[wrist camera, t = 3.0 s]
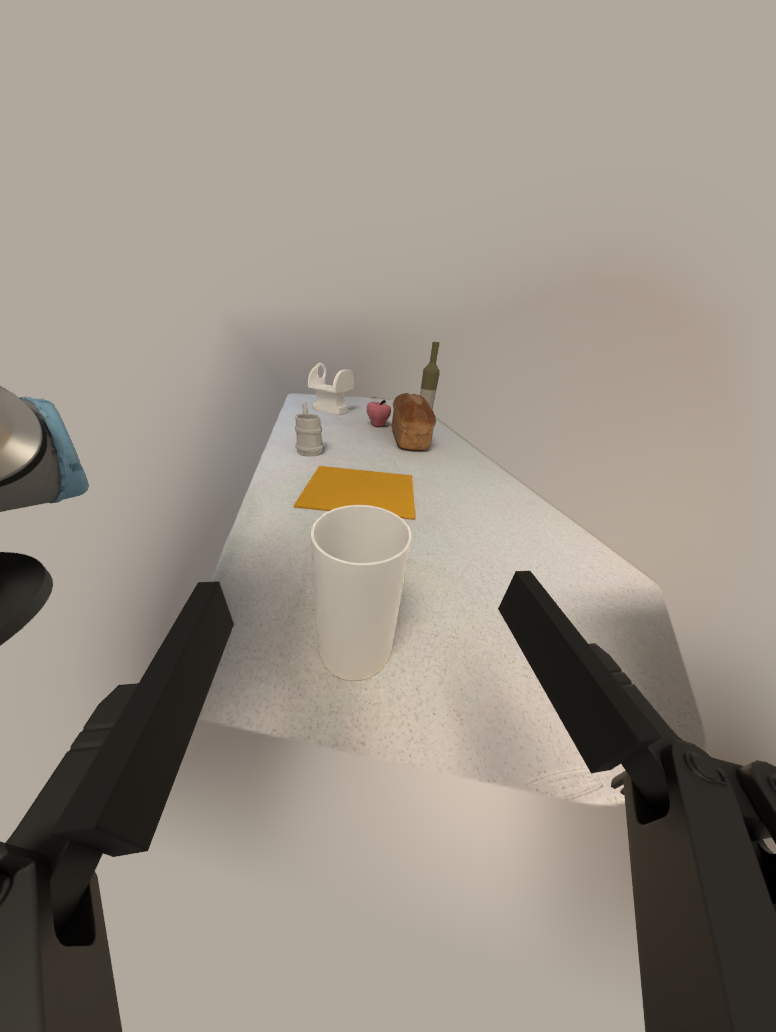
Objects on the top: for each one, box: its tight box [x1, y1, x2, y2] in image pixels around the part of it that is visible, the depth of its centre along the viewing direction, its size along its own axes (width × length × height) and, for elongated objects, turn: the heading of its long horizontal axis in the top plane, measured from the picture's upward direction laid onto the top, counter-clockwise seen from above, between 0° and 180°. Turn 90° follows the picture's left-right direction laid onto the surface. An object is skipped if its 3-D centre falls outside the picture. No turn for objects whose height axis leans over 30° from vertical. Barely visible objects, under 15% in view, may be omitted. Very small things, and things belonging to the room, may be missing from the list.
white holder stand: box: [308, 363, 354, 415], centre depth 117 cm, size 14×13×18 cm
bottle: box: [420, 342, 439, 409], centre depth 119 cm, size 7×7×30 cm
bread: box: [392, 393, 436, 450], centre depth 94 cm, size 12×28×14 cm, turn 4°
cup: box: [311, 505, 411, 681], centre depth 27 cm, size 8×8×16 cm
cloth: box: [294, 466, 415, 519], centre depth 62 cm, size 24×20×1 cm
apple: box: [367, 400, 391, 427], centre depth 106 cm, size 10×9×10 cm
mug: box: [295, 403, 324, 456], centre depth 77 cm, size 8×12×12 cm, turn 21°
